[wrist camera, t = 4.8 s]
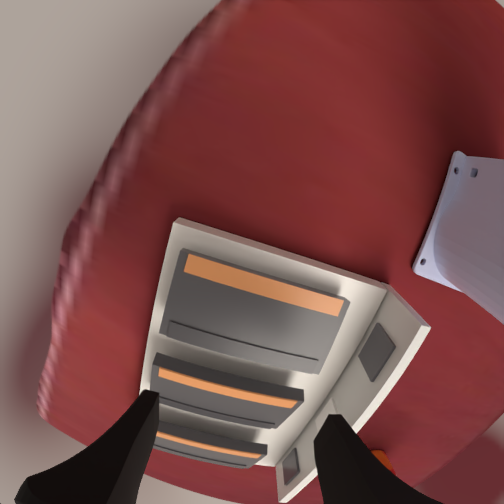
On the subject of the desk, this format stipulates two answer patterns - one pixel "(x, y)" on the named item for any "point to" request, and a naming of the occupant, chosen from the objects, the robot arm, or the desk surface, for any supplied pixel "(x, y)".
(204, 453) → the switch
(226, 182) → the desk surface
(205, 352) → the switch unit
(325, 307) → the switch
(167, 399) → the switch
